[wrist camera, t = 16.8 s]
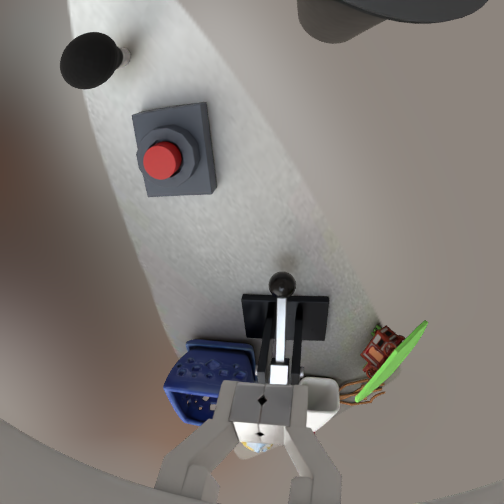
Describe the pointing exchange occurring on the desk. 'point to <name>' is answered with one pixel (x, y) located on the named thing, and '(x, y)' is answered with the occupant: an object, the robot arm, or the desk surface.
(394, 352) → the green stand with toy
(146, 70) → the desk surface
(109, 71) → the light bulb
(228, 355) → the flower pot
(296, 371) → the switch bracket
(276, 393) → the robot arm
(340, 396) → the emblem
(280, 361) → the switch lever
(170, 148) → the button
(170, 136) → the control box
